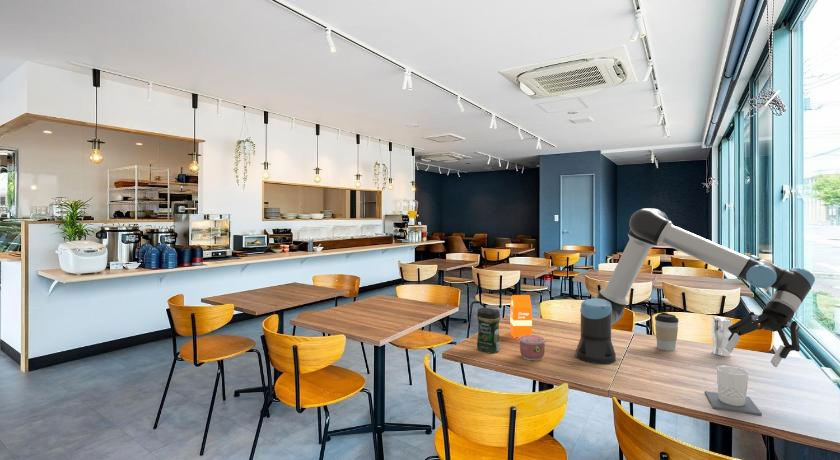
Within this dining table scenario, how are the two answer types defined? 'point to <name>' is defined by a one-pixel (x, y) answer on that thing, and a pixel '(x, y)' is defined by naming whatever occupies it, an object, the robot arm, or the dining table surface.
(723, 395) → the white cup
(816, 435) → the dining table surface
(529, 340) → the container
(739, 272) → the robot arm
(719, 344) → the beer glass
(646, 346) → the dining table surface
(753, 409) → the rubber mat
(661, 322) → the coffee cup
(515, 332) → the orange juice
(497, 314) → the coffee jar
